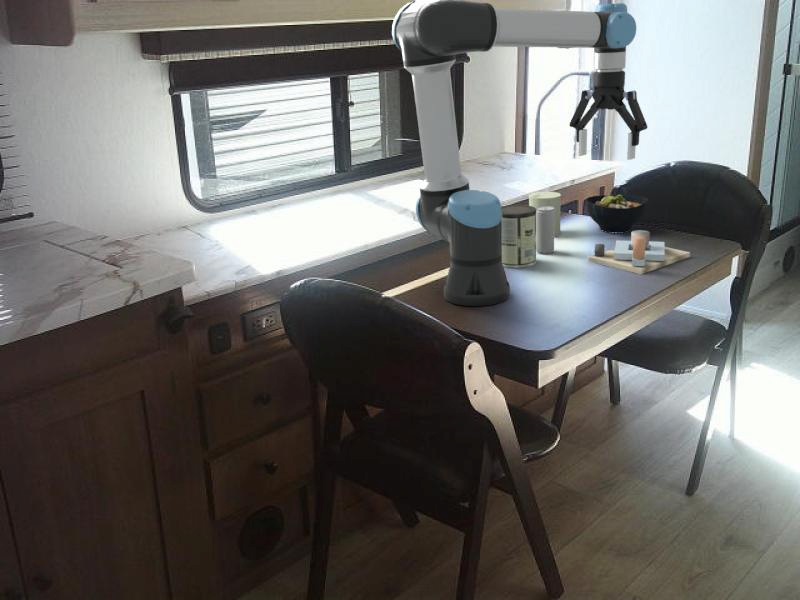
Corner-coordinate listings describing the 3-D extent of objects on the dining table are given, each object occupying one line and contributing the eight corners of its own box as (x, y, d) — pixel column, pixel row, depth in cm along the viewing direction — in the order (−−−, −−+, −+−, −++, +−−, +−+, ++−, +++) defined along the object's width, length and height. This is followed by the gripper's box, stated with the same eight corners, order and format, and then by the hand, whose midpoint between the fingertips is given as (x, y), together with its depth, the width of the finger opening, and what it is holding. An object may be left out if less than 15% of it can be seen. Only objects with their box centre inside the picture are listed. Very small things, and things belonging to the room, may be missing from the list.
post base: (641, 274, 191) (642, 246, 189) (588, 261, 203) (589, 234, 201) (689, 256, 203) (691, 230, 200) (637, 245, 215) (638, 220, 212)
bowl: (649, 236, 222) (651, 201, 219) (587, 237, 225) (588, 202, 222) (642, 222, 238) (643, 189, 235) (583, 222, 241) (584, 190, 238)
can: (523, 232, 234) (523, 192, 230) (551, 228, 237) (551, 188, 233) (537, 239, 226) (537, 197, 222) (566, 235, 228) (567, 194, 224)
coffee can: (505, 255, 213) (505, 203, 208) (542, 259, 208) (542, 206, 203) (489, 265, 204) (488, 212, 200) (527, 270, 199) (527, 215, 195)
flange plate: (616, 246, 210) (617, 221, 207) (664, 247, 206) (665, 223, 204) (612, 265, 194) (613, 238, 192) (664, 267, 191) (665, 240, 189)
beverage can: (553, 249, 215) (553, 205, 211) (554, 254, 211) (555, 210, 207) (535, 249, 216) (535, 206, 212) (536, 254, 211) (536, 210, 207)
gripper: (664, 69, 190) (659, 158, 197) (572, 69, 206) (570, 151, 213) (650, 71, 185) (645, 163, 192) (557, 71, 201) (555, 155, 208)
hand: (606, 157), depth 202 cm, fingers open, 13 cm apart
